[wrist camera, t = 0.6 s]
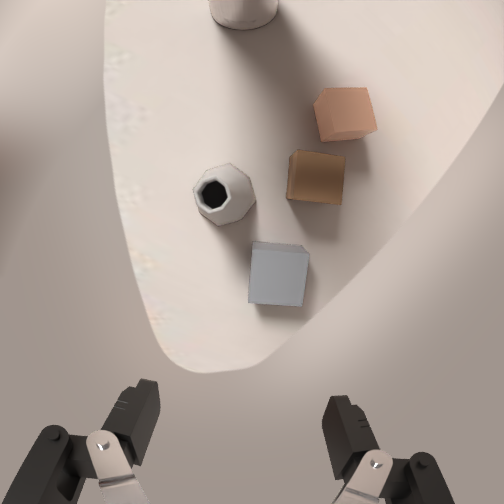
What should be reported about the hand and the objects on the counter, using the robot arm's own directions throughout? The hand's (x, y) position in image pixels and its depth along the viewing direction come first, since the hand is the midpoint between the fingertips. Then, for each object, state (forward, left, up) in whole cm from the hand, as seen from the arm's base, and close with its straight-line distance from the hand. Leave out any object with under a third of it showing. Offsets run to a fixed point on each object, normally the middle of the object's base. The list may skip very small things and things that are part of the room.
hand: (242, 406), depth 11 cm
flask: (-9, -4, -24) cm, 26 cm away
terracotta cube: (-19, +9, -24) cm, 32 cm away
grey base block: (0, +3, -24) cm, 24 cm away
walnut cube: (-11, +6, -24) cm, 27 cm away
